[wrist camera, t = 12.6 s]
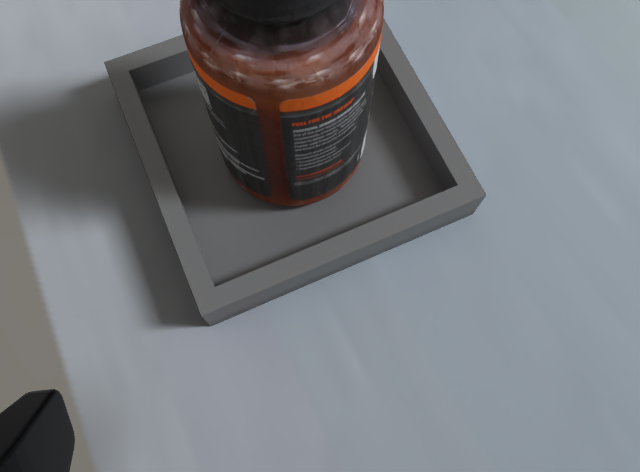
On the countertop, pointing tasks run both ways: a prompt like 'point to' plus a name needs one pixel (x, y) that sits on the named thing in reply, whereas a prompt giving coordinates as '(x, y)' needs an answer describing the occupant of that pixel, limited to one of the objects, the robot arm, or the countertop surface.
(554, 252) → the countertop surface
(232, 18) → the supplement bottle
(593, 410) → the countertop surface
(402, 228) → the grey square tray
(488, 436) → the countertop surface
